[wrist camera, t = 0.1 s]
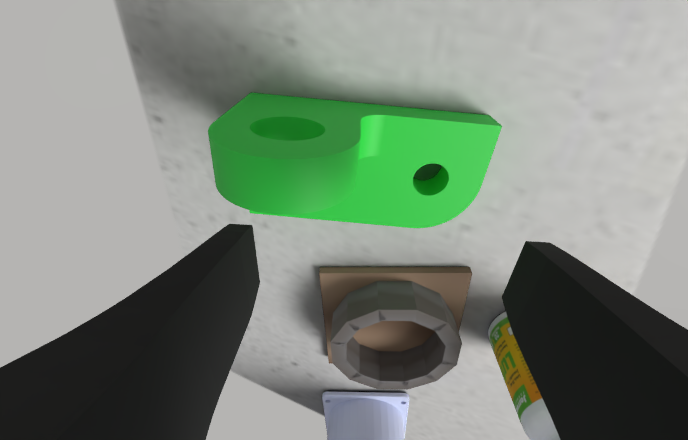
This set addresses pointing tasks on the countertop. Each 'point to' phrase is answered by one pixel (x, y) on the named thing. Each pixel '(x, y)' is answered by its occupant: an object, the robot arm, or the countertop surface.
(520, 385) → the supplement bottle
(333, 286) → the collar holder
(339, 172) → the mechanical part
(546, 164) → the countertop surface
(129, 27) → the countertop surface
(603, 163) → the countertop surface
